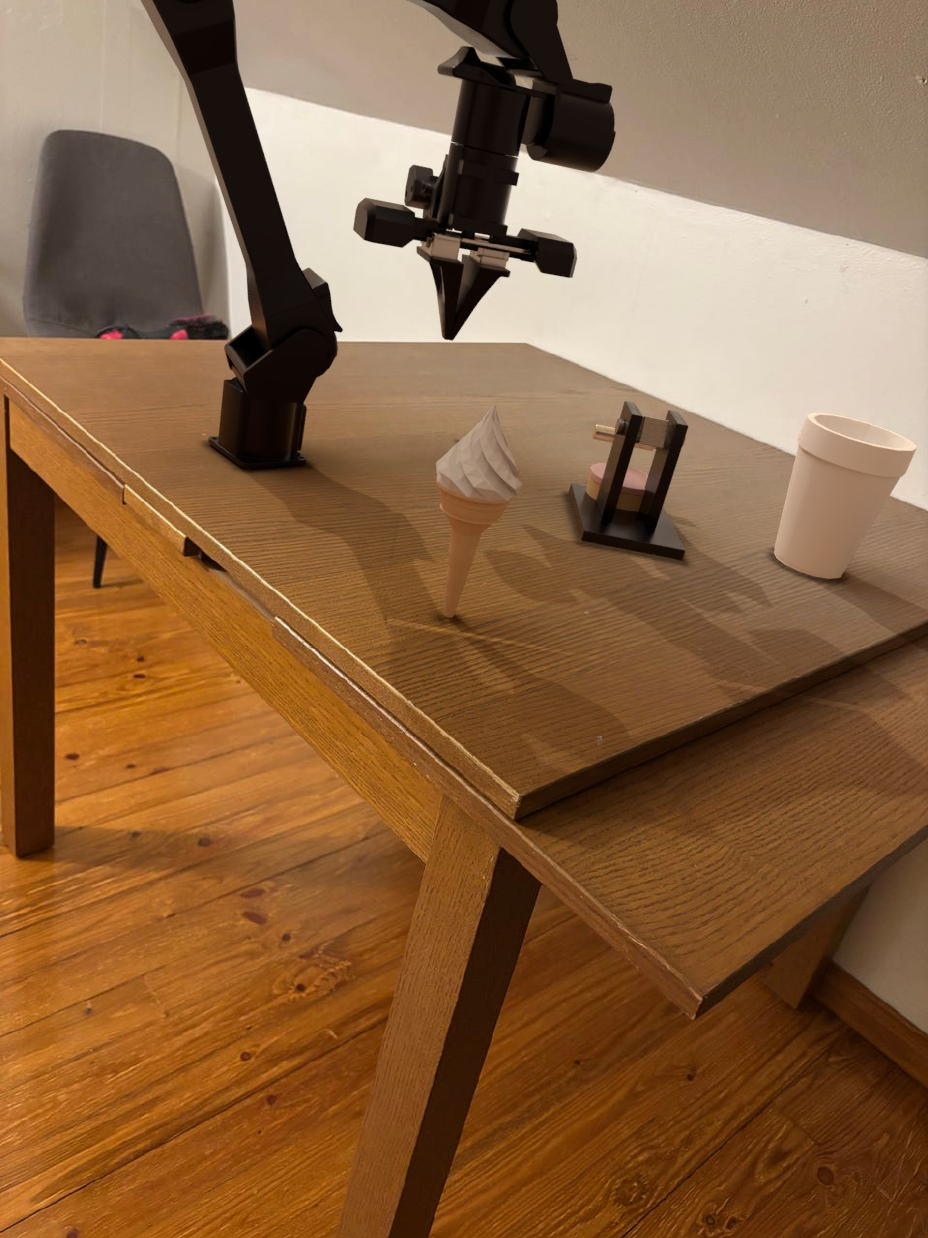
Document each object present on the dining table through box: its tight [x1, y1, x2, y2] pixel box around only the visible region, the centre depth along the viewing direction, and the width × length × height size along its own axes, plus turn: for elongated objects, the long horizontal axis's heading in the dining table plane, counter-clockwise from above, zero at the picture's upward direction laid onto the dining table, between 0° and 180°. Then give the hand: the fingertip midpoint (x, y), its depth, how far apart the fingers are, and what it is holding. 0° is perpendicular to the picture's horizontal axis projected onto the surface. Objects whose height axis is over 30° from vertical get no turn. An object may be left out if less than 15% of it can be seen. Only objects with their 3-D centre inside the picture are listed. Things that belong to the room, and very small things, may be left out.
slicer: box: [568, 400, 689, 561], centre depth 87 cm, size 12×9×11 cm
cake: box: [585, 462, 649, 511], centre depth 93 cm, size 7×7×3 cm
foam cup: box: [773, 412, 918, 580], centre depth 88 cm, size 10×9×13 cm
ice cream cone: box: [435, 403, 523, 619], centre depth 63 cm, size 6×6×15 cm
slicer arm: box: [592, 415, 669, 452], centre depth 90 cm, size 12×6×2 cm, turn 179°
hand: (447, 338), depth 88 cm, fingers closed
